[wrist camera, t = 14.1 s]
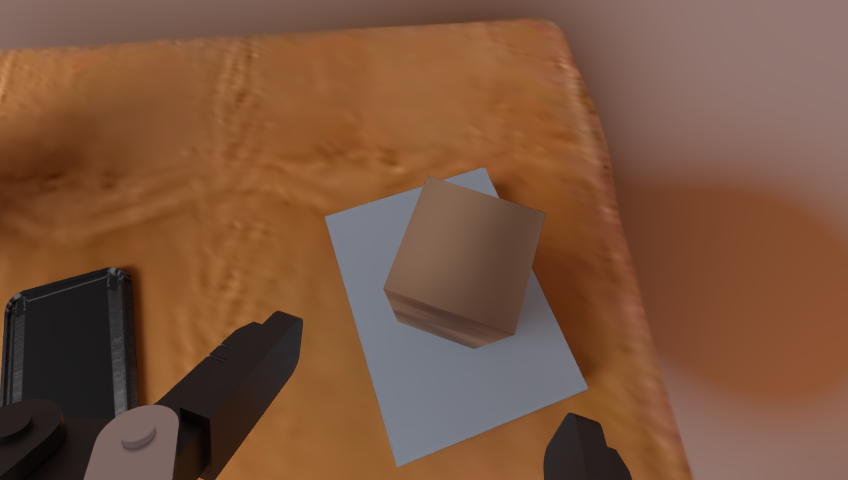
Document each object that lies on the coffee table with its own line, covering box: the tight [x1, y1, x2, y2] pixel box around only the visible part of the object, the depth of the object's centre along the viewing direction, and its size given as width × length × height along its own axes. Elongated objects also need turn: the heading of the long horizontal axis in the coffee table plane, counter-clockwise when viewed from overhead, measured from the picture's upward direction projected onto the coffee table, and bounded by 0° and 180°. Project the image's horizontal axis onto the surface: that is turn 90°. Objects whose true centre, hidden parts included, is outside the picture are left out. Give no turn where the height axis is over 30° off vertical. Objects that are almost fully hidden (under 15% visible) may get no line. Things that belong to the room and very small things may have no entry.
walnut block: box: [383, 176, 546, 349], centre depth 19 cm, size 5×5×10 cm
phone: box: [0, 267, 139, 419], centre depth 24 cm, size 8×1×15 cm
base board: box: [325, 167, 588, 467], centre depth 25 cm, size 16×12×3 cm
